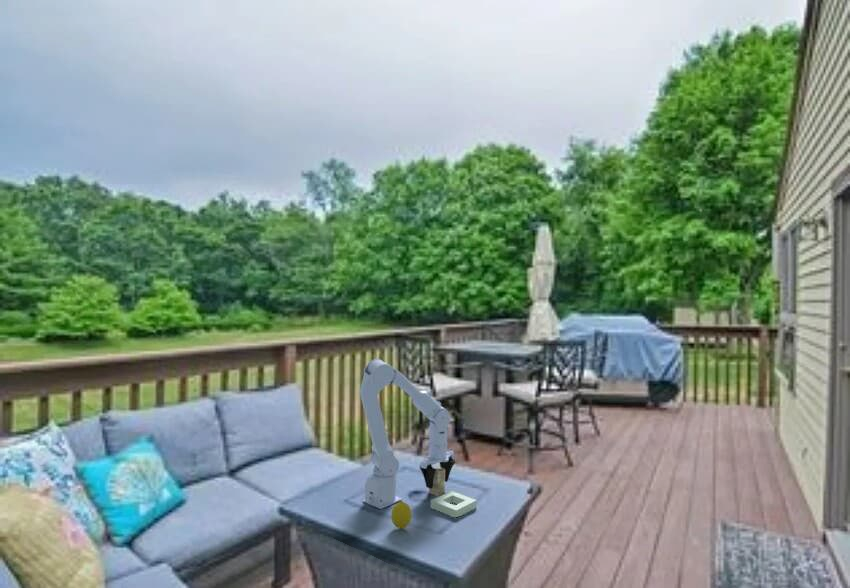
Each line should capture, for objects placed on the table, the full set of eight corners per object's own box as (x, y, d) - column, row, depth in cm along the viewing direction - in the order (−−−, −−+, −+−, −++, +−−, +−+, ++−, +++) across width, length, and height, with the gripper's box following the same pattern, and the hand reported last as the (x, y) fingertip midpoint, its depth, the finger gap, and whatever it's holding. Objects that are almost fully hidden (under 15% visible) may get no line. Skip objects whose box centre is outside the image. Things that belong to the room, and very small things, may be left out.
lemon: (400, 522, 168) (400, 495, 167) (414, 528, 164) (415, 501, 164) (387, 529, 164) (387, 501, 163) (401, 535, 160) (402, 507, 159)
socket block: (456, 518, 171) (456, 510, 171) (430, 508, 178) (430, 500, 178) (476, 508, 179) (476, 500, 178) (451, 498, 185) (451, 490, 185)
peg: (437, 496, 187) (438, 471, 186) (428, 493, 189) (429, 468, 189) (444, 493, 189) (445, 468, 189) (436, 489, 192) (436, 466, 191)
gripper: (432, 451, 180) (431, 494, 181) (461, 440, 191) (460, 481, 192) (415, 446, 185) (414, 487, 186) (445, 436, 196) (444, 475, 196)
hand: (437, 484), depth 189 cm, fingers open, 7 cm apart
